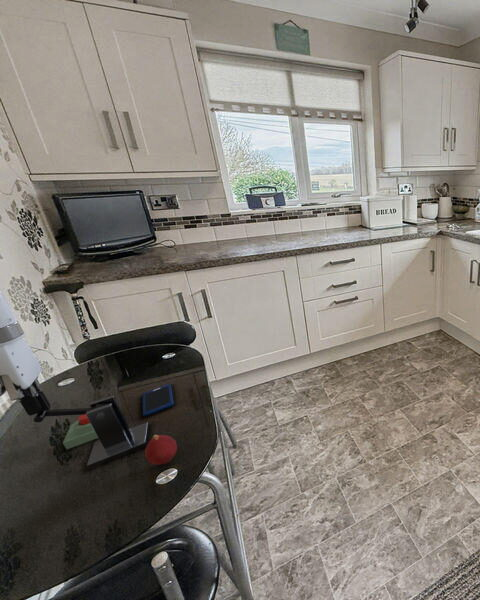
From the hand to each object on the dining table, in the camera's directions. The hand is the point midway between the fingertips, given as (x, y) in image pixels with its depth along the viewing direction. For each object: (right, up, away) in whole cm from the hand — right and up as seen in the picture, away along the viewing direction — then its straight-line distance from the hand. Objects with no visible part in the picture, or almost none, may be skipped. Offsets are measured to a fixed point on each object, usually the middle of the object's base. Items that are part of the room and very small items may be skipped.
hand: (40, 410), depth 71 cm
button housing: (-3, -11, +16) cm, 20 cm away
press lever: (+4, -2, +4) cm, 6 cm away
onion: (+25, -13, +4) cm, 29 cm away
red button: (-4, -8, +15) cm, 17 cm away
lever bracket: (+9, -12, +10) cm, 18 cm away
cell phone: (+6, -6, +27) cm, 28 cm away
